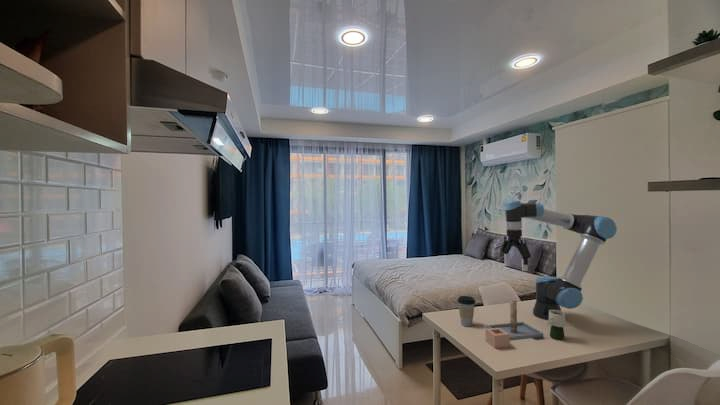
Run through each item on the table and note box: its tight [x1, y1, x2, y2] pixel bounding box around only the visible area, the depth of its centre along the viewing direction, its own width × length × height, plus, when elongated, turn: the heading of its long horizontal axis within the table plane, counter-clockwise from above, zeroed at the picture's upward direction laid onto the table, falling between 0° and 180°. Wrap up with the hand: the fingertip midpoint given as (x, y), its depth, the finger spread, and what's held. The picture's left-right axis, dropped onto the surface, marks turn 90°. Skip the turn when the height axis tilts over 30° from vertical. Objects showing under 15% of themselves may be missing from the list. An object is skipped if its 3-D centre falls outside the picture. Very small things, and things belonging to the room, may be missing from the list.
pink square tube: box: [485, 328, 511, 350], centre depth 148 cm, size 8×8×7 cm
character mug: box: [548, 310, 567, 340], centre depth 155 cm, size 11×7×13 cm, turn 110°
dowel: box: [509, 299, 518, 333], centre depth 160 cm, size 3×3×16 cm
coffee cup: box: [457, 295, 476, 328], centre depth 173 cm, size 9×9×15 cm
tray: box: [485, 321, 544, 341], centre depth 161 cm, size 22×15×2 cm
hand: (515, 267), depth 168 cm, fingers open, 13 cm apart
